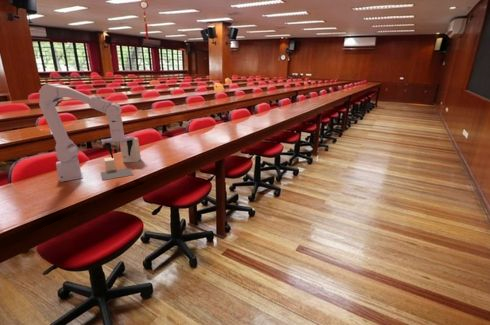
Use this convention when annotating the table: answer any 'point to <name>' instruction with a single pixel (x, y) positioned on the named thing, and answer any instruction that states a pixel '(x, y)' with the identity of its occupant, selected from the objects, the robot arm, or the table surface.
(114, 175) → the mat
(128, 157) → the small box
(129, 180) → the table surface
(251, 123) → the table surface
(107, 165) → the eraser block
